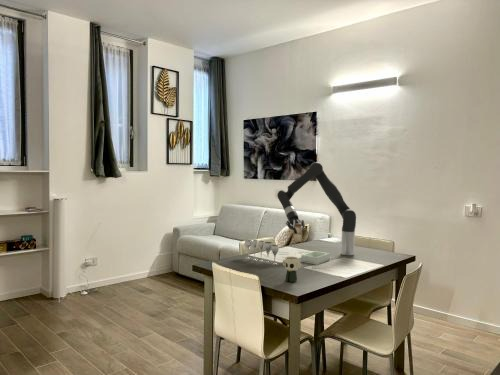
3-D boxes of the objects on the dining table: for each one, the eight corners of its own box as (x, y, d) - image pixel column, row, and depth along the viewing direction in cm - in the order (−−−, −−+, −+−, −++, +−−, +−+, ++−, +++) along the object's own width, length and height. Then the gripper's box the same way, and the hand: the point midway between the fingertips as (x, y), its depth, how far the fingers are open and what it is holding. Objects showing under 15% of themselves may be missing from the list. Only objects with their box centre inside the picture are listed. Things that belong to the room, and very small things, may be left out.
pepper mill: (296, 240, 278) (297, 223, 278) (303, 241, 275) (303, 223, 275) (292, 241, 274) (293, 223, 274) (299, 242, 271) (299, 224, 270)
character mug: (279, 281, 218) (279, 257, 217) (285, 278, 224) (286, 255, 223) (297, 284, 212) (297, 260, 211) (302, 281, 218) (303, 258, 217)
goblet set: (280, 263, 259) (280, 243, 258) (274, 265, 255) (275, 244, 254) (247, 256, 277) (248, 238, 276) (242, 258, 273) (242, 238, 272)
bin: (313, 257, 280) (314, 250, 280) (329, 259, 273) (329, 253, 272) (301, 261, 265) (301, 255, 265) (317, 264, 258) (317, 257, 258)
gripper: (284, 210, 277) (292, 230, 267) (301, 210, 283) (310, 229, 273) (280, 217, 282) (288, 237, 272) (297, 216, 289) (306, 235, 278)
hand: (299, 233), depth 273 cm, fingers closed on pepper mill, 5 cm apart
